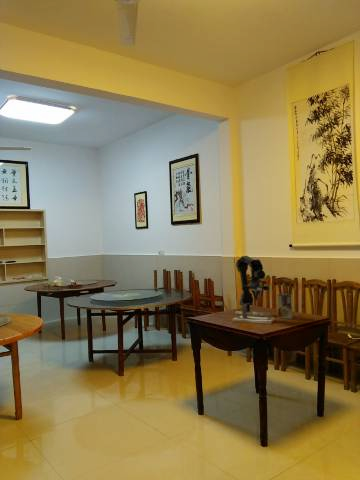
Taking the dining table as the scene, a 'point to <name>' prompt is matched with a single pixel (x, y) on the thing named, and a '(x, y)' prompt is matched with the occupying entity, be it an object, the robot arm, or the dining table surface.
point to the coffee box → (285, 305)
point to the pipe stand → (253, 319)
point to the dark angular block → (244, 311)
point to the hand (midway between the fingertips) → (256, 300)
